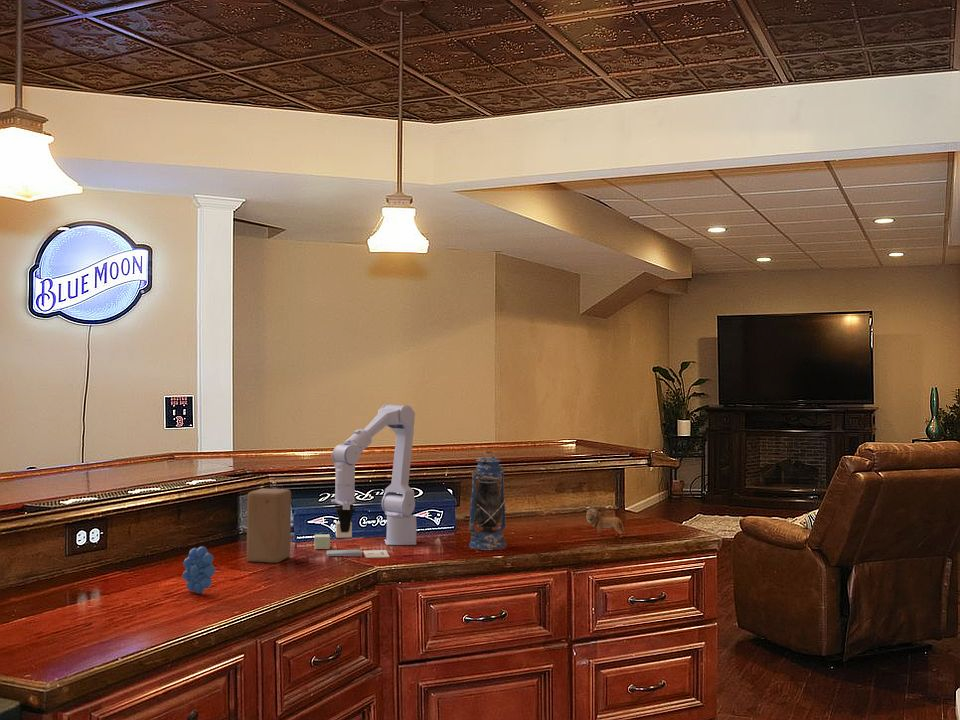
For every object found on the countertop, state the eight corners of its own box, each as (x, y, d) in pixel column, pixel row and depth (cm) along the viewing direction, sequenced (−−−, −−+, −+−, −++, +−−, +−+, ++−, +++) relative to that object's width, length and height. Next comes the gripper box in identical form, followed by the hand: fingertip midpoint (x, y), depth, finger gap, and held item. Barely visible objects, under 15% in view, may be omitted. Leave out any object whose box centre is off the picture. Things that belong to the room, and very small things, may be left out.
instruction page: (385, 550, 304) (386, 549, 304) (389, 557, 295) (389, 556, 295) (362, 551, 303) (363, 550, 303) (365, 557, 293) (365, 556, 293)
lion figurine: (584, 536, 334) (584, 509, 334) (588, 533, 339) (588, 507, 339) (627, 539, 329) (628, 512, 329) (630, 536, 334) (631, 510, 334)
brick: (350, 534, 300) (350, 521, 300) (351, 537, 296) (351, 523, 296) (335, 534, 299) (335, 521, 299) (336, 537, 295) (336, 524, 295)
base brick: (359, 554, 301) (360, 549, 301) (361, 557, 296) (361, 552, 296) (326, 555, 299) (326, 550, 299) (327, 558, 294) (327, 553, 294)
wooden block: (277, 564, 283) (278, 493, 283) (245, 562, 285) (246, 492, 285) (291, 557, 293) (292, 489, 293) (259, 555, 295) (260, 487, 295)
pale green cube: (329, 547, 310) (329, 534, 310) (329, 549, 305) (330, 536, 305) (314, 547, 309) (314, 534, 309) (314, 550, 304) (315, 537, 304)
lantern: (483, 553, 303) (484, 454, 302) (456, 547, 311) (457, 451, 311) (518, 547, 313) (520, 451, 313) (491, 541, 322) (492, 448, 322)
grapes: (227, 594, 247) (228, 546, 247) (204, 599, 241) (205, 549, 241) (198, 587, 254) (199, 540, 254) (175, 591, 249) (176, 543, 249)
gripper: (330, 482, 304) (329, 526, 304) (332, 488, 289) (332, 535, 289) (353, 481, 305) (352, 526, 305) (357, 488, 291) (356, 534, 291)
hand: (344, 530), depth 297 cm, fingers closed on brick, 4 cm apart
